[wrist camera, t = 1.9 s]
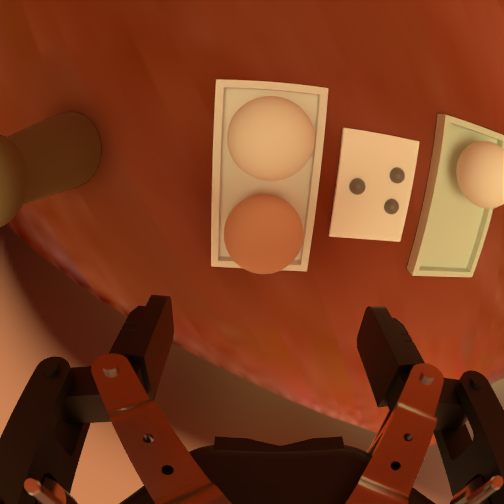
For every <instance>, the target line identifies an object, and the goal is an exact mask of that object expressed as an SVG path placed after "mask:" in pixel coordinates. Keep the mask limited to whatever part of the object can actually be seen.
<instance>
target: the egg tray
mask: <svg viewBox="0 0 504 504" xmlns="http://www.w3.org/2000/svg"><path fill="white" fill-rule="evenodd" d="M264 96H276V97H281V98H285V99H287V100H290V101H292V102H293V103H295V104H297V105H298V106H299V107H300V108H301V109H302V110H303V111H304V112H305V113H306V114H307V116H308V117H309V119H310V121H311V123H312V126H313V130H314V148H313V151H312V154H311V156H310V159H309V160H308V162H307V163H306V165H305V166H304V167H303V168H302V169H301V170H300V171H299V172H297V173H296V174H294V175H292V176H291V177H288V178H286V179H282V180H276V181H266V180H261V179H257V178H254V177H252V176H250V175H248V174H247V173H245V172H244V171H242V170H241V169H240V168H239V167H238V166H237V164H236V163H235V162H234V160H233V159H232V157H231V155H230V152H229V149H228V144H227V132H228V127H229V124H230V122H231V119H232V118H233V116H234V114H235V113H236V112H237V111H238V110H239V109H240V108H241V107H242V106H243V105H244V104H246V103H247V102H249V101H251V100H253V99H256V98H259V97H264ZM327 100H328V88H323V87H315V86H307V85H299V84H289V83H278V82H265V81H248V80H216V92H215V112H214V136H213V167H212V217H211V266H214V267H231V268H242V267H240V266H239V265H238V264H237V263H235V261H234V260H233V259H232V258H231V256H230V255H229V253H228V251H227V249H226V246H225V242H224V226H225V222H226V220H227V217H228V215H229V213H230V212H231V210H232V209H233V208H234V207H235V206H236V205H237V204H238V203H239V202H241V201H242V200H244V199H246V198H248V197H250V196H254V195H259V194H268V195H273V196H277V197H279V198H281V199H283V200H285V201H286V202H288V203H289V204H290V205H291V206H292V207H293V208H294V209H295V210H296V212H297V213H298V215H299V217H300V219H301V222H302V226H303V233H304V235H303V243H302V247H301V250H300V251H299V253H298V255H297V257H296V258H295V260H294V261H293V262H292V263H291V264H289V265H288V266H287V267H285V268H284V269H282V270H289V271H307V267H308V260H309V254H310V247H311V240H312V233H313V226H314V219H315V211H316V204H317V196H318V188H319V180H320V171H321V162H322V153H323V143H324V133H325V123H326V112H327Z"/></svg>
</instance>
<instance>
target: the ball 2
mask: <svg viewBox="0 0 504 504" xmlns="http://www.w3.org/2000/svg"><path fill="white" fill-rule="evenodd" d="M303 235H304V233H303V226H302V222H301V219H300V217H299V215H298V213H297V212H296V210H295V209H294V208H293V207H292V206H291V205H290V204H289V203H288V202H286V201H285V200H283V199H281V198H279V197H277V196H273V195H268V194H259V195H254V196H250V197H248V198H246V199H244V200H242V201H241V202H239V203H238V204H237V205H236V206H235V207H234V208H233V209H232V210H231V212H230V213H229V215H228V217H227V220H226V222H225V226H224V242H225V246H226V249H227V251H228V253H229V255H230V256H231V258H232V259H233V260H234V261H235V263H237V264H238V265H239V266H240V267H242V268H243V269H245V270H247V271H250V272H252V273H257V274H271V273H275V272H278V271H280V270H282V269H284V268H285V267H287V266H288V265H289V264H291V263H292V262H293V261H294V260H295V258H296V257H297V255H298V253H299V251H300V250H301V247H302V243H303Z"/></svg>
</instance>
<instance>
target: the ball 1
mask: <svg viewBox="0 0 504 504" xmlns="http://www.w3.org/2000/svg"><path fill="white" fill-rule="evenodd" d="M227 144H228V149H229V152H230V155H231V157H232V159H233V160H234V162H235V163H236V164H237V166H238V167H239V168H240V169H241V170H242V171H244V172H245V173H247V174H248V175H250V176H252V177H254V178H257V179H261V180H266V181H276V180H282V179H286V178H288V177H291V176H292V175H294V174H296V173H297V172H299V171H300V170H301V169H302V168H303V167H304V166H305V165H306V163H307V162H308V160H309V159H310V156H311V154H312V151H313V148H314V130H313V126H312V123H311V121H310V119H309V117H308V116H307V114H306V113H305V112H304V111H303V110H302V109H301V108H300V107H299V106H298V105H297V104H295V103H293V102H292V101H290V100H287V99H285V98H281V97H276V96H264V97H259V98H256V99H253V100H251V101H249V102H247V103H246V104H244V105H243V106H242V107H241V108H240V109H239V110H238V111H237V112H236V113H235V114H234V116H233V118H232V119H231V122H230V124H229V127H228V132H227Z"/></svg>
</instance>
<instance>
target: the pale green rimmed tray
mask: <svg viewBox="0 0 504 504" xmlns="http://www.w3.org/2000/svg"><path fill="white" fill-rule="evenodd" d="M477 141H489V142H493V143H495V144H497V145H499V146H500V147H501V148H503V149H504V135H501V134H499V133H496V132H494V131H491V130H489V129H486V128H483V127H481V126H478V125H475V124H472V123H470V122H467V121H464V120H461V119H458V118H455V117H452V116H448V115H444V114H437V122H436V131H435V138H434V146H433V152H432V159H431V165H430V171H429V176H428V182H427V187H426V192H425V197H424V202H423V206H422V211H421V215H420V219H419V224H418V228H417V232H416V236H415V240H414V244H413V247H412V251H411V255H410V258H409V262H408V265H407V270H408V271H409V272H410V273H411V275H412V276H445V277H472V276H473V273H474V270H475V268H476V265H477V262H478V259H479V256H480V253H481V250H482V247H483V243H484V240H485V237H486V234H487V230H488V227H489V223H490V219H491V216H492V212H493V208H490V209H489V208H482V207H479V206H477V205H475V204H473V203H472V202H470V201H469V200H468V199H467V198H466V197H465V196H464V194H463V193H462V191H461V189H460V187H459V184H458V181H457V175H456V167H457V162H458V159H459V156H460V154H461V153H462V151H463V150H464V149H465V148H466V147H467V146H468V145H470V144H472V143H474V142H477Z"/></svg>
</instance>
